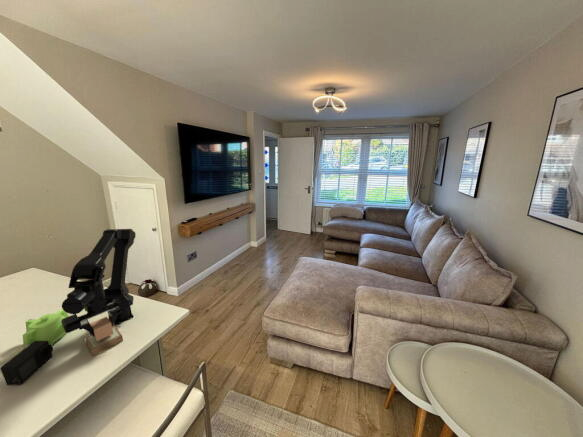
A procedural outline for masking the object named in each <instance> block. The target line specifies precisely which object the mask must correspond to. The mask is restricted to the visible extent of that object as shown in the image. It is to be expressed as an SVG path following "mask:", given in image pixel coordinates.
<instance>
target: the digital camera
mask: <svg viewBox="0 0 583 437" xmlns="http://www.w3.org/2000/svg"><path fill="white" fill-rule="evenodd" d="M53 349H54V348H53V345H49V343H48V341H34V342H33V343H32V344H30V345H27V347H25V348H24V349H23V350H21V351H20V352H18V353H17V354H16V355H14V356H13V357H12V358H11V359H9V360H8V361H7V362H6V363H3V365H1V366H0V371H1V374H2V376H3V378H4V381H5V384H6V386H21V385H23V384H24V383H26V382H27V381H28V380H29V379H30V378H31V377H32V376H33V375H34V374H35V373H37V372H38V371H40V369H41V368H43V366H45V364H47V363H48V362H49V361H50V360H51V359H52V358H54V356H53V354H52V353H53Z"/></svg>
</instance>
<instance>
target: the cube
mask: <svg viewBox="0 0 583 437" xmlns="http://www.w3.org/2000/svg"><path fill="white" fill-rule="evenodd" d="M89 323H90V325H91V327H92V329H93V332H94V338H95V339H96V341H99V340H101V339H103V338H105V337H107V336H109V335H112V334H113V329H112V324H111V322H110V320H109V318H108V315H107V316H104V317H101V318H100V319H97V320H95V321H92V322H89Z"/></svg>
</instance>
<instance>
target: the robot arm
mask: <svg viewBox="0 0 583 437" xmlns="http://www.w3.org/2000/svg"><path fill="white" fill-rule="evenodd" d="M136 236H137V234H136V232H135V231H134V230H133V229H132V228H116V229H114V228H110V229H108V228H107V229H105V230H103V232H102V236H101V237H100V239H99V240H98V242H97V243H96V245H95V246H94V247H93V248H92V250H91V252H90V253H89V254H88V255H86V256H84V257H82V258H81V259H80V260H79V261H78V262H77V263H76V264H75V265H74V266H73V268H72V270H71V275H70V279H69V280H70V281H69V284H68V289H72V291H71V292H69V293H67V294H66V298H65V299H64V300H63V302H62V303H61V309H63V310H64V311H65V312H67V314H68V317H66V318H64V319H62V321H61V323H62V326H63V328H64V330H65V332H66V333H67V334H69V333H72V332H74V331H76V330H79V331H80V330H81V331H82V330H84V331H87V332H88V333H89V334H90V335H92V336H93V337H94V332H93V329H92V327H91V325H90V323H91V322H89V320H90V319H93V318H95V317H96V316H99V315H103V314H104V313H107V318H108V319H109V320H110V322H111V324H112V327H113V324H114V325H119V324H121V323H124V322H126V321H128V320H130V319H133V318H134V314H133V313H132V312H133V311H132V306H133V305H134V299H135V298H134V296H133V295H131V294H129V288H128V286H127V285H126V275H127V265H128V257H129V256H128V255H129V249H130V248H131V247H132V246H133V245H134V242H135V239H136ZM113 249H114V252H113V260H112V269H111V276H110V283H109V285H108V287H106V288H104V283H103V278H105V274H104V272H105V270H106V266H107V265H106V263H105V262H106V259H107V258H108V256H109V254H110V253H111V251H112V250H113ZM83 310H84V311H85V312H86V313H85V314H82V315H80V316H78V315H77V314H80V313H81V312H83Z"/></svg>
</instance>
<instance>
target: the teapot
mask: <svg viewBox="0 0 583 437" xmlns="http://www.w3.org/2000/svg"><path fill="white" fill-rule="evenodd" d="M66 317H69V313H67V312H65V311H64V310H63V309H62V308H61V309H59V310H58V311H57V312H56V313H46V314H45V315H42V316H40V317H39V318H36V319H32V318H31V319H30V318H29V319H27V320H26V321H25V328H26V331H25V333H23V334H22V345H23V346H29V345H30V344H32V343H33V342H34V341H48V343H49V345H52V346H54V345H55V342H56V341H58V340H60V339H61V338H62V337H65V336H66V335H67V334H68V333H66V332H65V330H64V328H63V326H62V323H61V321H62V319H64V318H66Z"/></svg>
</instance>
